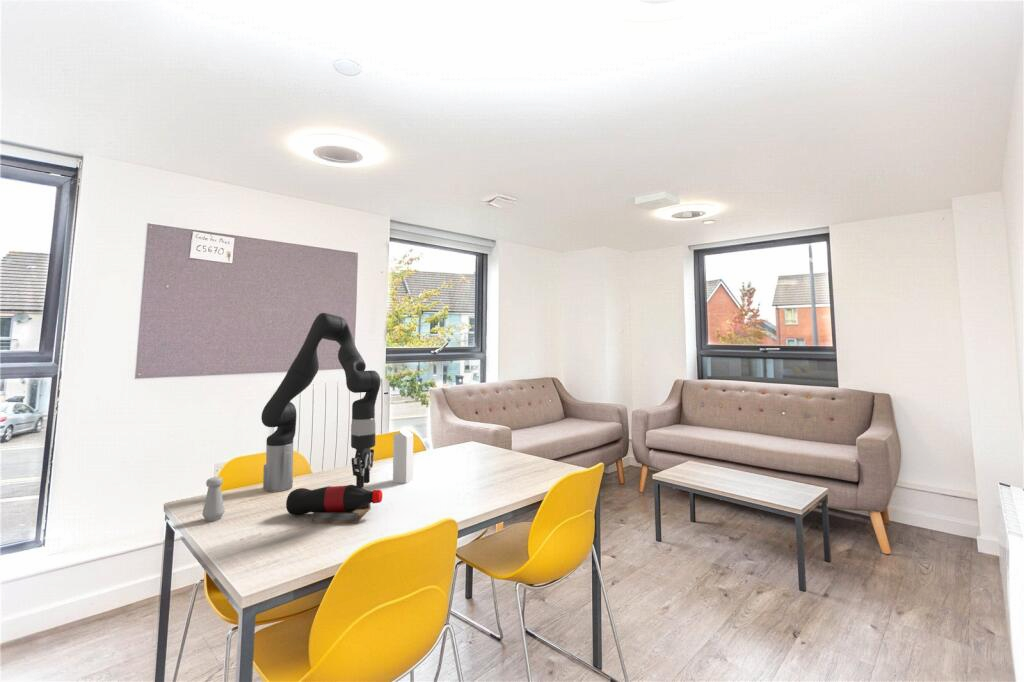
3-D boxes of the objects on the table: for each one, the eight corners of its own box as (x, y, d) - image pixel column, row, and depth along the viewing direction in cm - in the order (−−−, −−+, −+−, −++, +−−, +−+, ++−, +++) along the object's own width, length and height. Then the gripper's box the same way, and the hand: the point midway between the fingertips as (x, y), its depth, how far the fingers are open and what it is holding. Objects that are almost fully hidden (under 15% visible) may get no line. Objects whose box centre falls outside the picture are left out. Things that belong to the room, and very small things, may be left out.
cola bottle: (296, 515, 148) (385, 509, 146) (282, 517, 140) (376, 511, 138) (298, 488, 150) (385, 482, 149) (284, 489, 142) (376, 482, 141)
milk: (392, 482, 181) (392, 428, 181) (400, 478, 186) (400, 425, 187) (406, 483, 179) (406, 428, 180) (413, 479, 185) (413, 426, 185)
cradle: (311, 522, 138) (311, 514, 138) (329, 508, 151) (329, 500, 151) (355, 523, 137) (355, 515, 137) (370, 508, 150) (370, 501, 150)
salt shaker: (207, 524, 136) (208, 481, 137) (198, 520, 139) (199, 478, 140) (228, 518, 141) (229, 477, 142) (219, 514, 144) (220, 474, 145)
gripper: (360, 428, 152) (359, 478, 151) (342, 436, 137) (342, 492, 137) (381, 428, 152) (381, 479, 151) (366, 436, 137) (366, 492, 137)
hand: (363, 484), depth 144 cm, fingers open, 4 cm apart
